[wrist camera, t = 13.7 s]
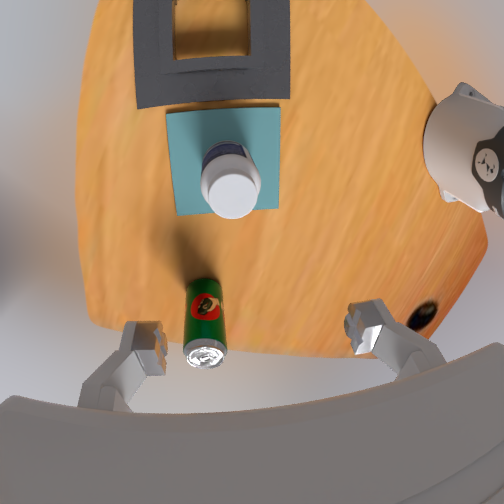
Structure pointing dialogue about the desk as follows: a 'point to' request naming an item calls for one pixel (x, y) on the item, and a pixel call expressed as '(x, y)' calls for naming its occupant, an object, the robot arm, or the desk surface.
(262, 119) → the mat
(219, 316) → the soda can
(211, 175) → the pill bottle
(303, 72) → the desk surface
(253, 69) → the square frame
